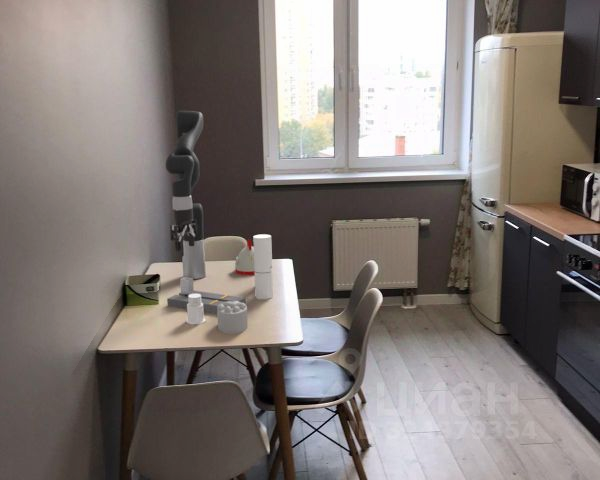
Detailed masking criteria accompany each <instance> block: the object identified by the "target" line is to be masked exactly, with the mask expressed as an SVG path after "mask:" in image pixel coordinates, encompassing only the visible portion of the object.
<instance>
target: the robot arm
mask: <svg viewBox="0 0 600 480" xmlns="http://www.w3.org/2000/svg"><path fill="white" fill-rule="evenodd" d="M175 129H176V131H175V132H176V142H175V147H174V149H173V150H172V152H170V154H169V155H168V156H167V158H166V161H165V169H166V171H167V172H168V173H169V174H170V175H177V179H176V180H173V182H172V183H171V188H172V190H171V191H172V216H173V218H172V219H173V220H174V221H175V224H171V225H170V228H169V229H170V241H172V242H174V247H175V248H174V249H175V251H176V252H181V251H182V245H183V256H181V258H182V259H181V260H182V278H183V277H189V278H193V280H196V279H197V280H198V279H203V278H205V277H206V276H207V275H206V274H207V273H206V256H205V240H204V239H205V238H204V209H203V205H202V204H201V203H197V202H196V203H193V199H192V191H193V189H194V188H195V186H196V185H197V183H198V181H199V179H200V173H201V172H200V161H199V159H198V157H197V155H196V154H195V152H194V148H195V145H196V143H197V141H198V139H199V137H200V135H201V134H202V131H203V129H204V115H203V113H202V112H200V111H197V110H196V111H194V110H178V111H177V113H176V115H175ZM181 240H182V241H181Z"/></svg>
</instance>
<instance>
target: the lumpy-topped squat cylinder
mask: <svg viewBox="0 0 600 480" xmlns="http://www.w3.org/2000/svg"><path fill="white" fill-rule="evenodd" d="M216 314H217V329H218V330H219V332H221V333H224V334H228V335H229V334H232V335H233V334H235V335H236V334H239V333H242V332H244V331H246V330H247V329H248V328H249V327H248V325H249V324H248V306H247V304H246V305H245V303H241V302H239V301H227V302H224V303H222V304H220V305H218V307H217V313H216Z"/></svg>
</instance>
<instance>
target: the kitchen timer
mask: <svg viewBox="0 0 600 480" xmlns="http://www.w3.org/2000/svg"><path fill="white" fill-rule="evenodd" d="M234 272H235V274H237V275H242V276H255V270H254V246H252V240H251V239H250V238H248V239H247V241H246V246H244V247H243V248H242V249H241V251H240V252H239V253H238V255H237V256H236V258H235V267H234Z"/></svg>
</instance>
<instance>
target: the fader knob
mask: <svg viewBox="0 0 600 480" xmlns="http://www.w3.org/2000/svg"><path fill="white" fill-rule="evenodd" d="M179 279H180V280H179V281H180V285H179V286H180V293H181V294H185V296H188V295H190V294H192V293H194V291H195V290H194V289H195V288H194V279H193V278H189V277H183V276H182V277H181V278H179Z"/></svg>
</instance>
